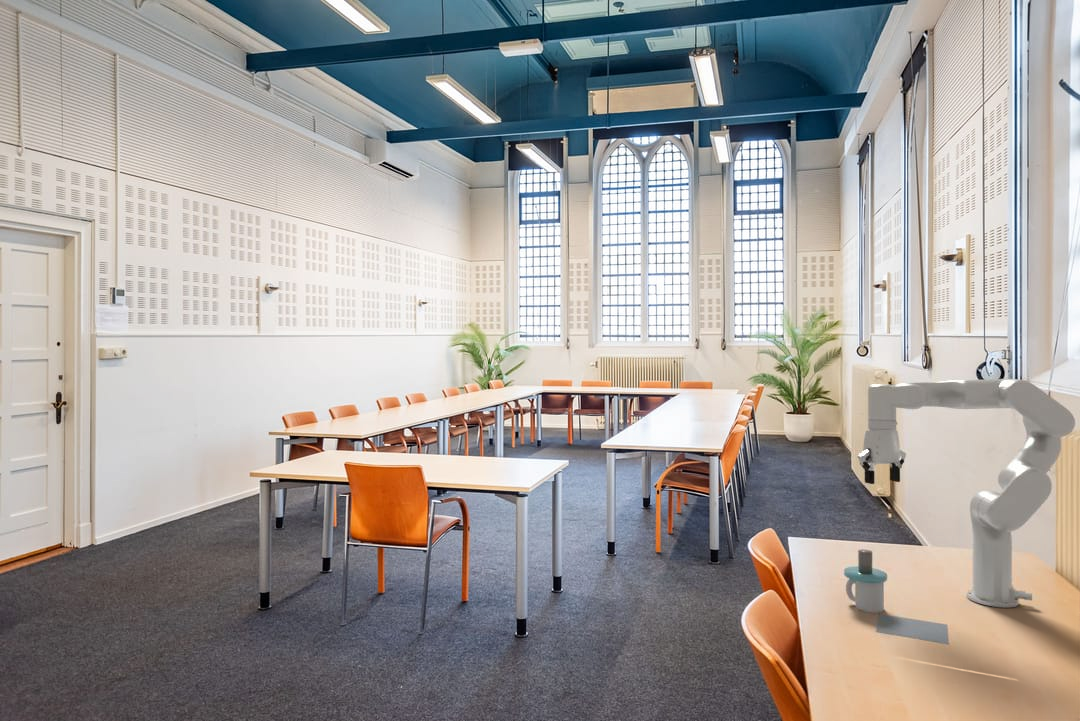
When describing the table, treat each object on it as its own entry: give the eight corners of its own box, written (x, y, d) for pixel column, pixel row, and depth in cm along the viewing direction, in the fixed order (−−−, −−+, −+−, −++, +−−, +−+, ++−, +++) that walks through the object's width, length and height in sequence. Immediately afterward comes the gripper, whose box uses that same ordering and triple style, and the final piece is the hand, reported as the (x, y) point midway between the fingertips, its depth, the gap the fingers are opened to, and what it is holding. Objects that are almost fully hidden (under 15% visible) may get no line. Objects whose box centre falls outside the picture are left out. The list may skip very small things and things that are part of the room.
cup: (879, 616, 186) (879, 583, 186) (841, 607, 193) (841, 575, 193) (887, 608, 191) (887, 577, 191) (850, 600, 198) (850, 569, 198)
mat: (947, 626, 179) (947, 624, 179) (948, 645, 166) (948, 644, 166) (879, 615, 187) (879, 613, 187) (876, 633, 174) (876, 631, 174)
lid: (888, 574, 194) (887, 548, 194) (886, 585, 184) (886, 558, 184) (846, 568, 199) (845, 544, 199) (842, 579, 190) (842, 553, 190)
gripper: (894, 423, 210) (894, 478, 210) (849, 425, 205) (849, 482, 205) (914, 425, 203) (915, 482, 203) (868, 427, 198) (869, 486, 198)
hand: (882, 482), depth 204 cm, fingers open, 9 cm apart
